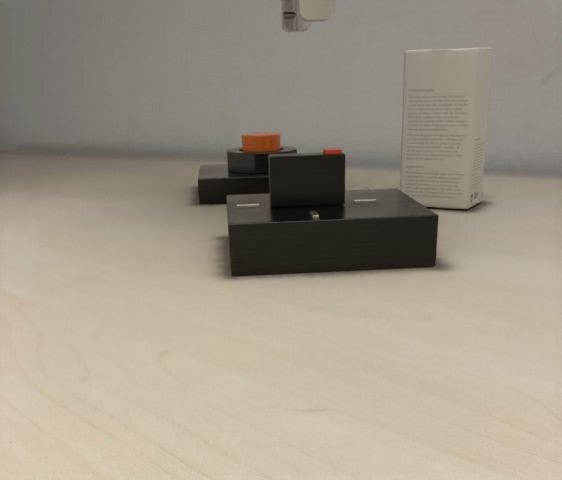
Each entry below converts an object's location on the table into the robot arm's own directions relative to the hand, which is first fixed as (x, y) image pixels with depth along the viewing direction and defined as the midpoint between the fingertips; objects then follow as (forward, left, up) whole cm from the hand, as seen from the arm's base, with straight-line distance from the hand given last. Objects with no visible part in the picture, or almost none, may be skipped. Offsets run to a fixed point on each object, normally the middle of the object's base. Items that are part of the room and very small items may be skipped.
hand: (305, 27), depth 40 cm
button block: (-10, +22, -13) cm, 28 cm away
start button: (-10, +22, -9) cm, 26 cm away
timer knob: (0, 0, -10) cm, 10 cm away
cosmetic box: (+7, +18, -13) cm, 23 cm away
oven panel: (+1, 0, -13) cm, 13 cm away
